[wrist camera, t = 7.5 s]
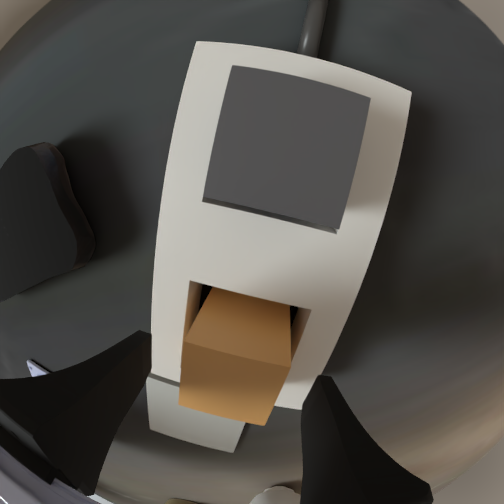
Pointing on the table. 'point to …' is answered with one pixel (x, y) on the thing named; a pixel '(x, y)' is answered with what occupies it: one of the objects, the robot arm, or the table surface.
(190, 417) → the grey mat
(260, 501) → the sauce bottle
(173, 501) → the plant pot
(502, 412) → the table surface
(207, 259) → the white slotted board
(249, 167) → the dark grey block
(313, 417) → the robot arm
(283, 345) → the orange plug
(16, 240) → the black sponge
